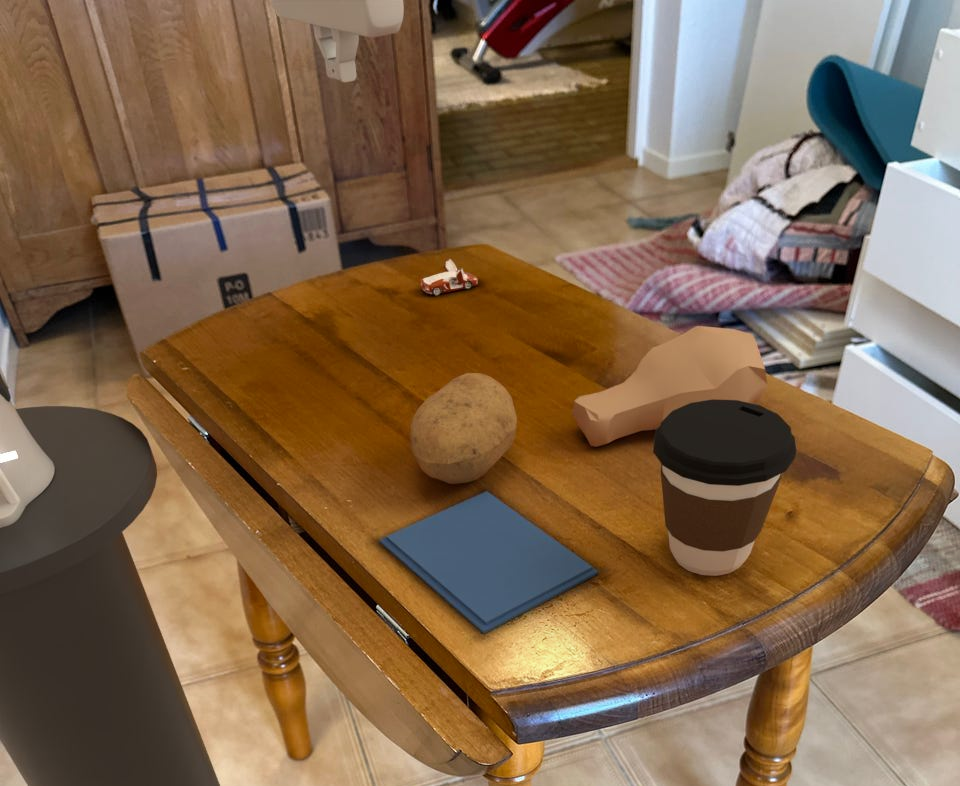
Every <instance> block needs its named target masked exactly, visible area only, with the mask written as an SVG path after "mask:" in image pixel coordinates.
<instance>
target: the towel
mask: <svg viewBox="0 0 960 786" xmlns="http://www.w3.org/2000/svg"><path fill="white" fill-rule="evenodd" d="M378 541H379V544H380V545H382V546H383V547H384V548H385V549H387V551H389V552H390V553H391V554H392V555H393V556H395V558H397V559H398V560H399V561H400V562H401V563H402V564H403V565H405V567H407V569H409V570H410V571H411V572H412V573H414V574H415V575H416V576H417V577H418V578H419V579H420V580H421V581H422V582H424V583H425V584H426V585H427V586H428V587H430V588H431V589H432V590H433V591H434V592H435V593H436V594H438V595H439V596H440V597H441V598H442V599H443V600H444V601H445V602H446V603H448V604H449V605H450V606H451V607H452V608H453V609H455V610H456V611H457V613H459V614H460V615H462V617H464V618H465V619H466V620H467V621H469V622H470V624H472V625H473V626H474V627H475V628H476V629H477V630H479V632H481V633H482V634H483V635H485V634H487V633H489V632H490V631H492V630H495V629H496V628H498V627H500V626H502V625H504V624H506V623H508V622H510V621H512V620H513V619H515V618H517V617H519V616H521V615H523V614H525V613H527V612H529V611H531V610H532V609H534V608H536V607H538V606H540V605H542V604H544V603H545V602H548V601H549V600H552V599H553V598H555V597H557V596H559V595H562V594H563V593H565V592H566V591H569V590H570V589H572V588H574V587H576V586H578V585H580V584H582V583H583V582H585V581H587V580H589V579H592V578H593V577H595V576H597V575H598V574H599V570H598V569H596V568H595V567H593V566H592V565H591V564H590V563H589V562H587V561H586V560H584V559H582V558H581V557H580V556H579V555H577V554H576V553H574V552H573V551H572V550H570V549H568V548H567V547H566V546H564V545H563V544H562V543H560V542H559V541H558V540H556V539H554V538H553V537H552V536H551V535H549V534H548V533H546V532H545V531H544V530H542V529H541V528H540V527H538V526H537V525H535V524H534V523H532V522H530V521H529V520H528V519H526V518H525V517H524V516H522V515H521V514H520V513H518V512H517V511H515V510H514V509H513V508H511V507H510V506H509V505H507V504H505V503H504V502H503V501H501V500H500V499H499V498H498V497H496V496H494V495H493V494H492V493H491V492H489V491H488V490H485V491H483V492H481V493H479V494H477V495H475V496H472V497H470V498H468V499H466V500H465V499H464V500H463V501H461V502H459V503H457V504H455V505H452V506H449V507H448V508H446V509H443V510H442V511H439V512H437V513H435V514H433V515H430V516H427V517H425V518H423V519H422V520H419V521H417V522H413V523H412V524H410V525H408V526H406V527H403V528H401V529H399V530H397V531H395V532H392V533H390V534H388V535H386V536H385V537H383V538H380V539H379V540H378Z"/></svg>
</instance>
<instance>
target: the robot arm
mask: <svg viewBox="0 0 960 786" xmlns="http://www.w3.org/2000/svg"><path fill="white" fill-rule="evenodd" d="M270 3H271V6H272V9H273V11H274V14H275V16H277V17H278V18H280V19H281V18H282V19H287V20H290V21H295V22H300V23H303V24H308V25H312V27H313V33H314V38H315V41H316V43H317V46H318V47H319V50H320V52H321V56H322V57H323V59H324V65H325V70H326V76H327V77H328V78H329V79H330V80H335V81H338V82H342V83H350V82H353V81H355V80H356V79H357V66H356V57H357V52H358V46H359V42H360V37H359V36H361V37H366V38H377V37H378V38H379V37H384V36H389V35H393V34H397V33H399V32H400V30H401V27H402V24H403V20H404V11H405V8H404V0H270ZM9 389H10V386H9V385H8V381H7V380H6V378H5V375H4V373H3V370H2V368H1V367H0V528H1V527H5V526H8V525H11V524H13V523H14V522H16V521H17V520H18V519H19V517H20V516H21V514H22V513H23V511H24V509H25V507H26V506H27V505H28V504H29V503H30V502H31V501H32V500H33V499H35V498H36V497H37V496H38V495H39V494H41V493H42V492H43V491H44V490H45V489H46V487H47V486H48V485H49V484H50V482H51V480H52V478H53V476H54V472H55V467H54V464H53V462H52V460H51V459H50V458H49V457H48V456H47V455H46V454H45V453H44V451H43V450H42V449H41V448H40V446H39V445H38V444H37V442H36V441H35V440H34V438H33V437H32V435H31V434H30V432H29V431H28V429H27V428H26V426H25V425H24V423H23V421H22V420H21V418H20V416H19V415H18V413H17V411H16V410H15V409H16V408H15V406H14V404H13V402H12V396H11V393H10V391H9Z"/></svg>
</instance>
